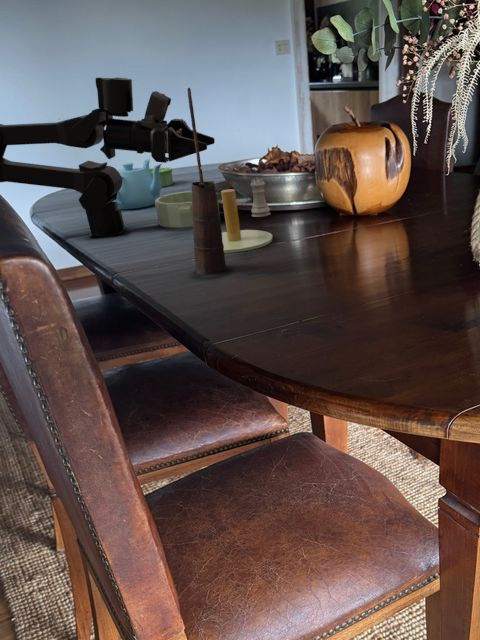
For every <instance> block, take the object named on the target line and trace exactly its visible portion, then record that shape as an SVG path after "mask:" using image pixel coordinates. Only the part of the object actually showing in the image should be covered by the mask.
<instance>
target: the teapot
mask: <svg viewBox="0 0 480 640" xmlns="http://www.w3.org/2000/svg"><path fill="white" fill-rule="evenodd" d="M150 160H151V159H150V158H147V159H145V160H144V161H143V164H142V167H134V163H133V162H125V163H122V167H123V168H122V169H116V170H117V171H118V172H119V173H120V175H121V177H122V187H121V189H120V190H119V191H118V192H117V199H116V200H114V201H113V202H116V203H117V207H118V209H121V210H133V209H140V208H141V209H142V208H147V207H150V206H153V205H155V200H156V199H157V198H159V197H161V190H162V187H161V180H160V176H159V168H160V167H161V166H162V165H163V163H160V164H157V165H154V167H152V168H153V178H152V176H151V173H150V169H151V168H150V162H151V161H150Z"/></svg>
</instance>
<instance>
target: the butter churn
mask: <svg viewBox="0 0 480 640" xmlns="http://www.w3.org/2000/svg"><path fill="white" fill-rule="evenodd" d="M186 91H187V99H188V107H189V114H190V121H191V127H192V130H193V134H194V141H195V147H196V153H195V156H196V163H197V167H198V168H197V169H198V177H199V181H193V182H191V185H190V186H191V187H190V188H191V191H192V214H193V217H192V220H193V226H192V230H193V231H192V233H193V234H192V235H193V249H194V250H193V252H194V267H195V273H196V274H197V275H200V276H211V275H212V276H213V275H216V274H220V273H222V272H225V271H226V270H227V264H226V257H225V256H226V255H225V253H224V245H223V241H222V232H223V231H222V224H221V214H220V215H219V211H220V208H219V209H218V204H219V201H218V202H217V197H218V193H217V190H216V185H215V181H214V180H209V181H208V180H206V181H205V180H204V176H203V169H202V168H201V167H202V162H201V156H200V152H199V148H198V140H197V132H198V131H197V127H196V119H195V113H194V106H193V105H194V103H193V98H192V91H191V88H190V87H188V88H187V90H186ZM216 193H217V194H216Z"/></svg>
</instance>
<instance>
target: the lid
mask: <svg viewBox="0 0 480 640" xmlns="http://www.w3.org/2000/svg"><path fill="white" fill-rule="evenodd" d="M220 194H221V200H222V208H223V215H224V221H225V229H226V231H222V241H223V245H224V254H233V253H242V252H247V251H252V250H257V249H260V248H262V247H266V246H268V245H269V244H271V243H272V242H273V239H274V237H273V234H272V233H270V232H268V231H265V230H259V229H241V225H240V218H239V210H238V201H237V194H236V189H233V188H232V189H231V188H229V189H223V190H221V191H220Z"/></svg>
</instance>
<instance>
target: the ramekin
mask: <svg viewBox="0 0 480 640" xmlns="http://www.w3.org/2000/svg"><path fill="white" fill-rule="evenodd" d="M153 168H154V167H152V168H149V169H150V173H151V176H152V178H153ZM159 176H160V180H161V188H163V187H164V188H166V187H169V186H172V185H173V183H174V180H173V168H172V167H168V166H162V167H161V166H160V168H159Z"/></svg>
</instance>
